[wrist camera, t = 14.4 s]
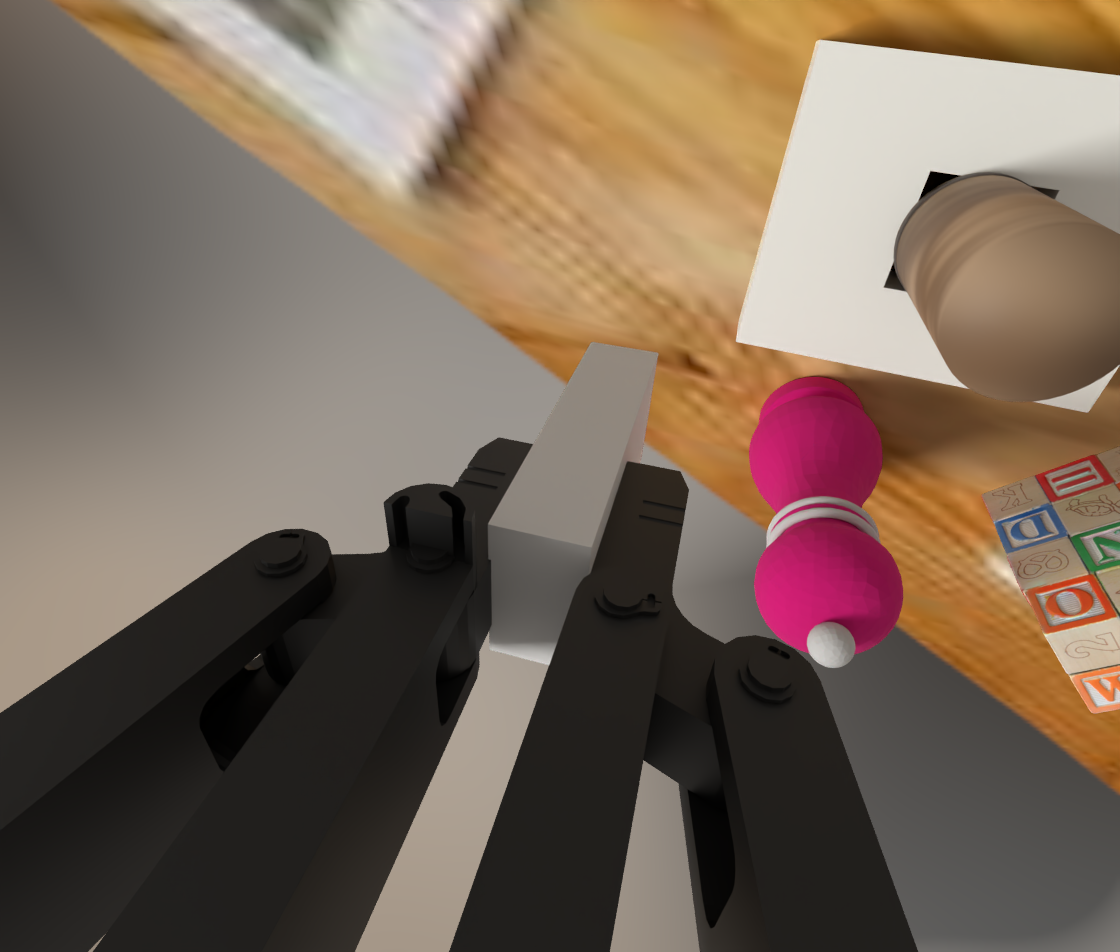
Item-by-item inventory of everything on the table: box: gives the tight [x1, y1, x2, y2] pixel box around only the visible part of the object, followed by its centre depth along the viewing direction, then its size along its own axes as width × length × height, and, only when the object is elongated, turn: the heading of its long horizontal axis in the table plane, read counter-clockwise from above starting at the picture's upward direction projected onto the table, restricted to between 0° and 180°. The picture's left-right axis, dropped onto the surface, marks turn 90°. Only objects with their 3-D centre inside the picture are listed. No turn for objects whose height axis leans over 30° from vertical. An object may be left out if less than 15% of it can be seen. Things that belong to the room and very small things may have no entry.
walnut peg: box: [894, 172, 1120, 402], centre depth 27 cm, size 6×6×14 cm
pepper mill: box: [749, 377, 903, 668], centre depth 32 cm, size 7×7×20 cm
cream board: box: [736, 40, 1120, 413], centre depth 31 cm, size 14×18×4 cm
